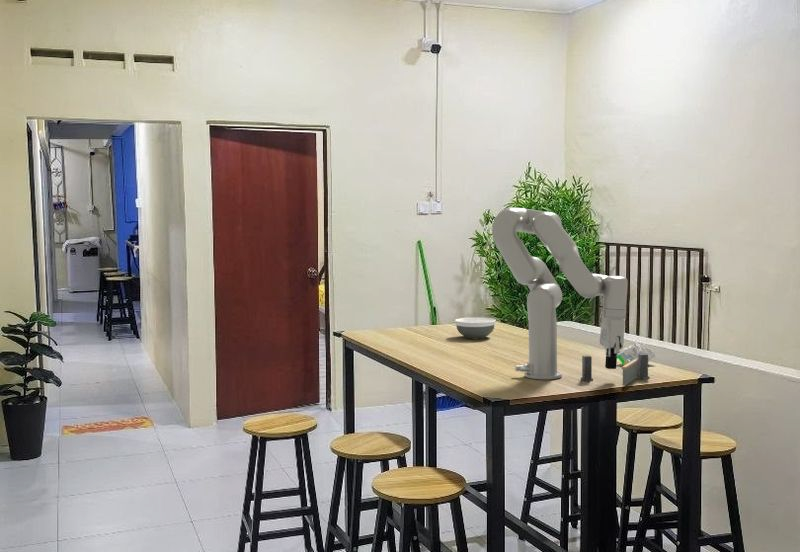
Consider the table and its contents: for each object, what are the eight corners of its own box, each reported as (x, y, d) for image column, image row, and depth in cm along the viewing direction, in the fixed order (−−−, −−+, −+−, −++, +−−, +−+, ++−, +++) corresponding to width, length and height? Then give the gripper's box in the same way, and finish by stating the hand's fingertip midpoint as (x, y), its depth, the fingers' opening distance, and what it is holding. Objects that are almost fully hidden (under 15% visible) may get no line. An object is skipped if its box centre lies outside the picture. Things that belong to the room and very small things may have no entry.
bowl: (462, 341, 352) (462, 323, 351) (449, 335, 370) (449, 318, 369) (502, 339, 356) (501, 321, 355) (487, 333, 374) (487, 316, 374)
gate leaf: (626, 385, 254) (626, 367, 254) (621, 385, 255) (621, 366, 255) (639, 376, 268) (639, 358, 268) (634, 376, 269) (635, 358, 269)
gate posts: (583, 380, 265) (583, 357, 264) (580, 379, 268) (580, 355, 267) (649, 378, 267) (649, 354, 266) (645, 376, 270) (645, 353, 269)
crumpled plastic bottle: (623, 352, 299) (640, 336, 294) (638, 371, 296) (656, 355, 291) (609, 357, 290) (627, 341, 285) (624, 377, 287) (643, 361, 282)
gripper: (595, 310, 269) (592, 363, 271) (611, 316, 254) (607, 373, 256) (616, 310, 270) (613, 363, 271) (633, 317, 255) (630, 373, 256)
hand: (610, 368), depth 264 cm, fingers closed
